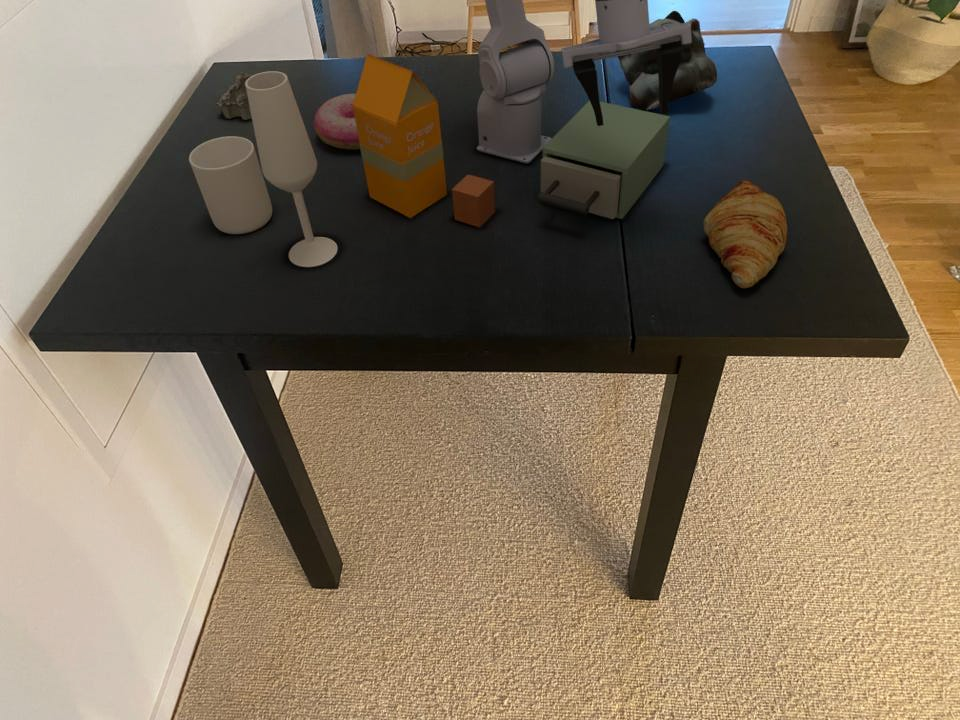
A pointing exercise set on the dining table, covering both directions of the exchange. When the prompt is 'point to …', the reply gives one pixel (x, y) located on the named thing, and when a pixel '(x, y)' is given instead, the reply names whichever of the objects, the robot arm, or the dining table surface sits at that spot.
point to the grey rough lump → (236, 99)
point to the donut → (338, 123)
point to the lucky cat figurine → (689, 77)
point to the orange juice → (399, 137)
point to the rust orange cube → (473, 200)
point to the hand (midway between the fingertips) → (631, 117)
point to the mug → (232, 184)
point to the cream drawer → (579, 187)
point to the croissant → (747, 232)
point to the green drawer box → (616, 146)
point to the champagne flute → (286, 155)
